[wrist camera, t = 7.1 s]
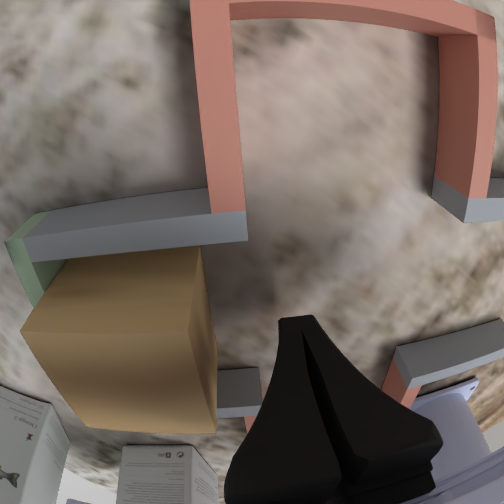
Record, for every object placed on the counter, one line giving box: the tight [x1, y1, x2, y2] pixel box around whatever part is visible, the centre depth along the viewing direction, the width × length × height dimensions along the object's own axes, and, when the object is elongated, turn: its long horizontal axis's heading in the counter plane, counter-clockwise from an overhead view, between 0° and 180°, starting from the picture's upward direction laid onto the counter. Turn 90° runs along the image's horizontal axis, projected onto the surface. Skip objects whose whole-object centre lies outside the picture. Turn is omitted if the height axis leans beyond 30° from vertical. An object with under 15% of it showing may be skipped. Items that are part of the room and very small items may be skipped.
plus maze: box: [4, 0, 504, 434], centre depth 13 cm, size 25×26×2 cm
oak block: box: [20, 246, 217, 434], centre depth 12 cm, size 6×6×5 cm
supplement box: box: [0, 386, 70, 504], centre depth 14 cm, size 7×7×13 cm
